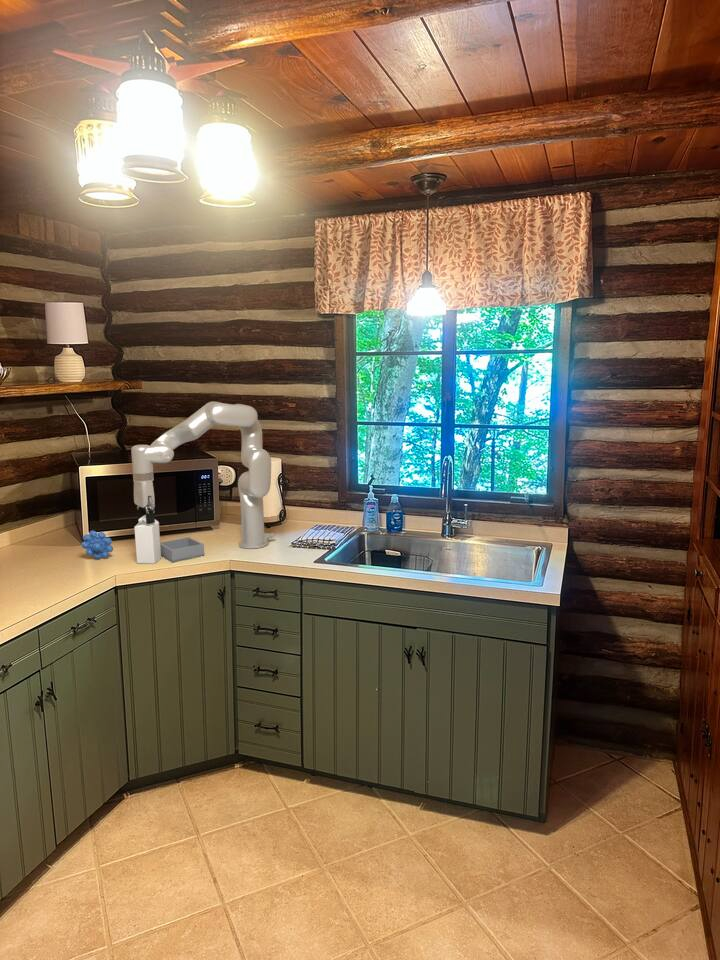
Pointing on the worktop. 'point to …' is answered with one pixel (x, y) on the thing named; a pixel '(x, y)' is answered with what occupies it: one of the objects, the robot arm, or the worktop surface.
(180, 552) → the bin
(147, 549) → the milk carton
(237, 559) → the worktop surface
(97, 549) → the grapes
